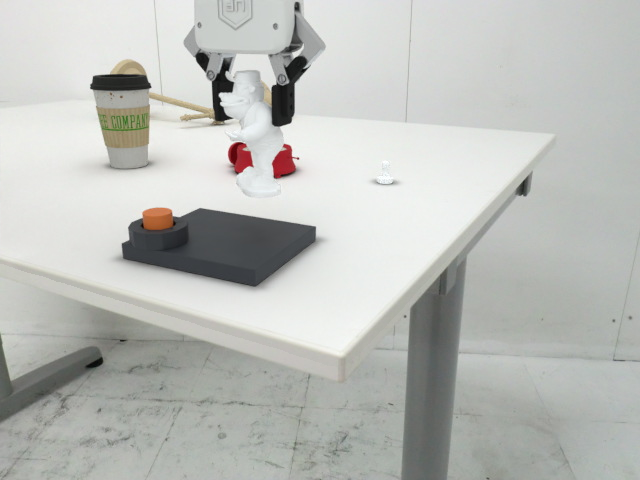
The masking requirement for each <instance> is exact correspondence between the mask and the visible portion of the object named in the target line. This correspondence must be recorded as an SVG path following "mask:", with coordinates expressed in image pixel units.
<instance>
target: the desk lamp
mask: <svg viewBox="0 0 640 480" xmlns="http://www.w3.org/2000/svg"><path fill="white" fill-rule="evenodd" d="M146 71H147V70H145V68H144V66H143V65H142V64H141V63H139V62H138V61H136V60H133V59H131V58H130V59H129V58H126V59H122V60H120V61H119V62H118V63H117V64H116V65H115V66H114V67H113V68H112V70H111V71H110V73H109V74H140V75H146V76H147V79H148V74H147V72H146ZM232 77H233V78H235V75H234V76H232ZM148 80H149V79H148ZM261 83H262V84H263V85H264V87H263V88H264V93H265V96H264V100H263V101H265V102H266V103H268V104H269V105H270V106H271V107H272V101H271V90H270V89H271V88H269V86H268V85H267V84H266V83H265V82H264V81H263V80H262V79H261ZM149 99H152V100H155V101H158V102H163V103H166V104H169V105H173V106H177V107H180V108H183V109H187V110H190V111H194V112H198V113H197V114H187V113H185V114H184V115H180V117H179V120H180V121H185V122H189V121H192V120H199V119H200V120H201V119H207V118H208V119H210V120H213V121H211V125H214V124H215V125H221V124H222V123H225V121H222V122H219V121H216V120H215V114H214V109H213V107H207V106H206V107H205V106H202V105H198V104H195V103H191V102H187V101H184V100H181V99H177V98H173V97H170V96H166V95H163V94H159V93H155V92H153V91H149Z"/></svg>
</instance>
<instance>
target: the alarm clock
mask: <svg viewBox="0 0 640 480" xmlns="http://www.w3.org/2000/svg"><path fill="white" fill-rule="evenodd" d="M227 159H228V160H229V163H230V164H231V165H233V170H234V172H236V173H238V174H239V173H242V172H243V170H244V169H246V168H247V167H249V166H250V167H253V168H254V166H253V161H252V156H251V151H250V150H249V149H248V147H247V145H246V143H245V142H242V141H234V142H233V143H232V144H231V145H230V146H229V147H228V150H227ZM294 160H297V161H299V160H300V157H299V156H297V157H295V156H293V148H292V145H290V144H287V143H284V145H283V147H282V148H281V150H280V151H279V153H278V154H277V155H276V156H275V158H274V160H273V162H272V166H273V174H274V175H273V177H274V179H281V178H282V175H287V174H290V173H293V172H295V171H296V169H297V168H296V164H295V162H294Z"/></svg>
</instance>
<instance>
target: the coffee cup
mask: <svg viewBox="0 0 640 480" xmlns="http://www.w3.org/2000/svg"><path fill="white" fill-rule="evenodd" d="M147 78H148V75H147V76H146V75H140V74H110V73H109V74H108V73H107V74H96V75H92V80H91V83H90V84H89V89H90V90H92V93H93V96H94V100H95V109H96V113H97V117H98V122H99V124H100V131H101V134H102V139H103V142H104V146H105V147H106V153H107V156H108V161H109V164H110V167H111V168H114V169H124V170H125V169H126V170H127V169H138V168H142V167H145V166H147V165H148V164H149V144H150V115H151V104H150V98H149V92H150V89H152V88H153V87H152V84H151V82H149V79H147Z"/></svg>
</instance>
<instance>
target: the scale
mask: <svg viewBox="0 0 640 480" xmlns="http://www.w3.org/2000/svg"><path fill="white" fill-rule="evenodd" d="M127 231H128V240H125V241H124V242H121V251H122V253H121V254H122V258H123V259H125V260H130V261H134V262H140V263H144V264H149V265H153V266H159V267H162V268H168V269H172V270H177V271H182V272H186V273H191V274H196V275H201V276H206V277H209V278H215V279H219V280H223V281H229V282H234V283H238V284H244V285H248V286H253V287H256V286H257V285H259V284H261V283H262V282H263V281H265V280H266V279H267V278H268V277H269V276H271V275H272V274H274V273H275V272H276V271H277V270H278V269H280V268H281V267H282V266H284V265H285V264H287V263H288V262H289V261H290V260H292V259H293V258H294V257H295V256H297V255H298V254H300V253H301V252H302V251H303V250H305V249H306V248H308V246H310V245H311V244H313V243H314V242H315V241H316V240H317V226H315V225H310V224H303V223H298V222H290V221H285V220H279V219H271V218H266V217H259V216H254V215H247V214H242V213H241V214H240V213H235V212H228V211H222V210H215V209H209V208H203V207H199V208H196V209H193V210H192V211H190V212H188V213H186V214H183V215H181V216H175V215H173V227H171V228H167V229H162V230H148V229H144V225H143V217H140V218H138V219H136V220H133V221H131V222H130V224H129V225H128V226H127Z"/></svg>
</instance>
